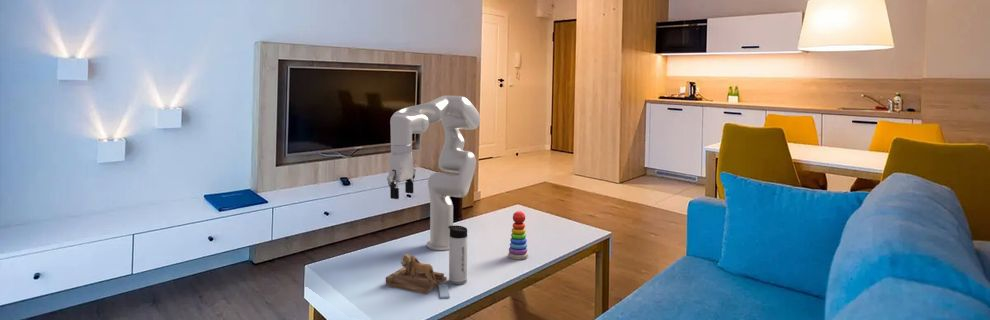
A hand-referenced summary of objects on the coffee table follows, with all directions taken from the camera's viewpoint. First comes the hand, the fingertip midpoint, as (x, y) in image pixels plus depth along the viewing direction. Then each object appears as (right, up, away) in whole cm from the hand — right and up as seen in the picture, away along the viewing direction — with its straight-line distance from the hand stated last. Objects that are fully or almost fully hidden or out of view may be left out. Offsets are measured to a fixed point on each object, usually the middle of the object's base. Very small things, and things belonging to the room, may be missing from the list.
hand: (402, 195), depth 194 cm
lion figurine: (+8, -29, -10) cm, 32 cm away
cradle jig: (+6, -30, -8) cm, 32 cm away
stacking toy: (+43, -26, +20) cm, 54 cm away
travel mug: (+21, -30, -6) cm, 37 cm away
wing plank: (+17, -32, -16) cm, 39 cm away
